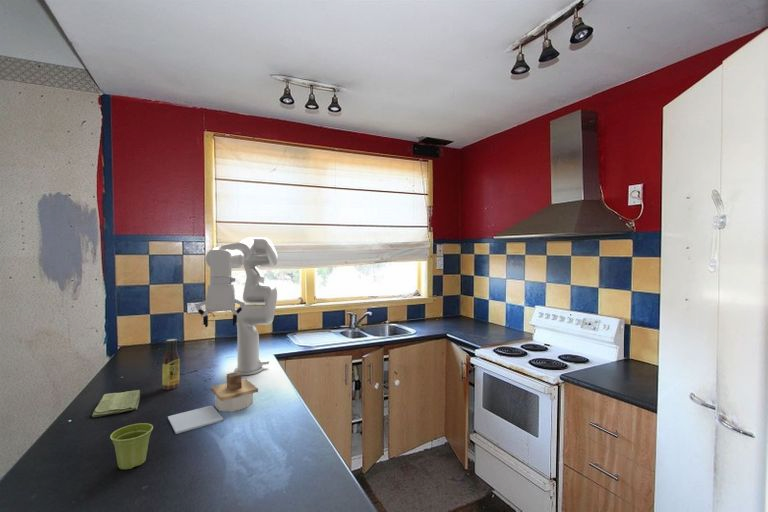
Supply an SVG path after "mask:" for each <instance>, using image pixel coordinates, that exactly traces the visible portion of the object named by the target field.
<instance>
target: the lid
mask: <svg viewBox="0 0 768 512" xmlns="http://www.w3.org/2000/svg"><path fill="white" fill-rule="evenodd" d="M242 376H243V375H241V374H240V373H239V372H235V373H234V372H231V373H227V374H226V383H222V384H218V385H213V386H210V391H211V392H212V393H213V395H214V396H215V395H216V396H217V397H218V399H219V400H220V401H224V400H228V399H232V398H236V397H240V396H244V395H248V394H252V393H253V394H254V393H259V388H258V387H257V386H256V385H254V384H253V383H252V382H250V380H248V379H247V378H245V379H243V378H242Z"/></svg>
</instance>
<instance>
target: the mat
mask: <svg viewBox="0 0 768 512" xmlns="http://www.w3.org/2000/svg"><path fill="white" fill-rule="evenodd" d="M167 420H168V421H169V423H170V425H171V428H172V429H173V431H174V434H175V435H178V434H182V433H185V432H188V431H192V430H195V429H199V428H202V427H206V426H209V425H212V424H213V425H214V424H215V423H221V422H222V421H224V418H223V416H222V415H221V414H220V413H219V411H217V408H216V407H214V406H213V405H211V404H210V405H207V406H204V407H200V408H195V409H191V410H188V411H183V412H180V413H175V414H172V415H169V416H168V415H167Z"/></svg>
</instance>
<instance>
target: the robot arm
mask: <svg viewBox="0 0 768 512" xmlns="http://www.w3.org/2000/svg"><path fill="white" fill-rule="evenodd" d="M278 261H279V258H278V253H277V251H276V248H275V247H274V244H273V243H272V241H271V240H270V239H269V238H267V237H245V238H243V239H241V240H239V241H237V242H234V243H233V242H232V243H229V244H224V245H219V246H215V247H213V248H211V249H210V250H209V251H207V252H206V255H205V263H206V265H207V266H208V267H209V274H210V275H209V282H210V283H209V285H207V289H206V298H205V300H203V301H200V302H198V303H197V304H195V306H194V307H195V308H196V311H197V312H198V313H199V314H200V315H201V316H202V317H203V319H202V320H203V321H202V323H203V324H202V325H204V327H205V328H207V327H208V326H209V315H208V314H209V313H210V312H226V311H229V312H230V311H231V313H232V326H233V327H234V326H236V329H237V330H236V331H237V367H236V368H234V370H233V373H235V372H239V373H240V374H241V375H242V376H250V375H256V374H258V373H261V372H262V371H263V365H265V366H266V365H269V364H270V361H269V359H267V360H264V359H261V360H260V343H259V342H260V339H259V338H260V333H259V331H258V329H257V327H256V326H257V325H258V326H259V325H260V326H262V325H263V326H267V325H271V324H272V323H273V321H274V318H275V312H276V306H277V301H278V289H277V287H276V286H275V285H273V284H265V276H264V274H263V273H262V271H261V270H260V269H259V268H260V267H262V268H263V267H264V268H266V267H267V268H268V267H269V268H270V267H271V268H272V267H275V266H277V264H278ZM242 266H243V268H244V272H245V275H246V279H245V283H244V288H243V293H242V301H241V300H239V299H236V297H235V296H236V294H235V293H236V291H235V285H234V284H232V283H235V282H236V278H234V277H232V269H239V268H241V267H242ZM258 267H259V268H258ZM245 303H246V304H245ZM236 304H237V305H239V306H237V308H236V309H235V307H236ZM204 305H205V311H204V310H203V309H202V306H204Z"/></svg>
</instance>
